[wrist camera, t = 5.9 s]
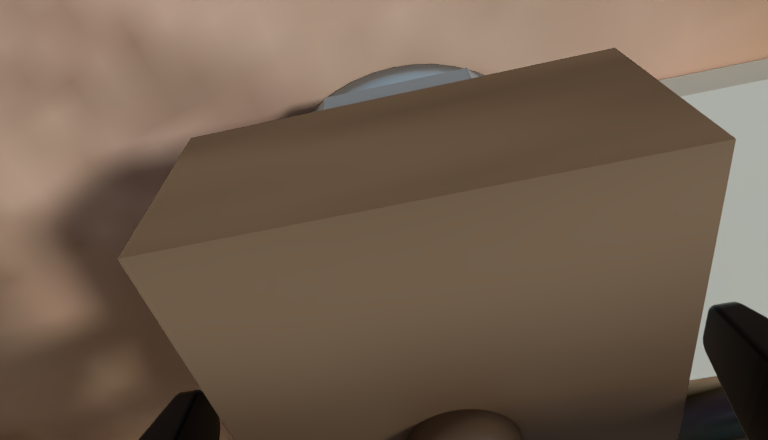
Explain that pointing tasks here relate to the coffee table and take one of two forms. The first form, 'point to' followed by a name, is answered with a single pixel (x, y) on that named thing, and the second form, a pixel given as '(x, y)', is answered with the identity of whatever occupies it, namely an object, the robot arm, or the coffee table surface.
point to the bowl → (396, 83)
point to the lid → (446, 260)
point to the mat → (736, 188)
